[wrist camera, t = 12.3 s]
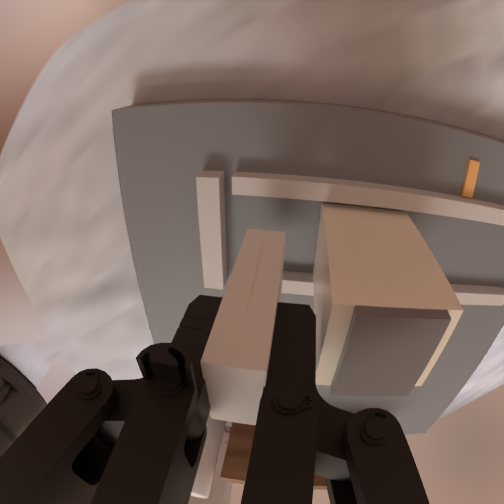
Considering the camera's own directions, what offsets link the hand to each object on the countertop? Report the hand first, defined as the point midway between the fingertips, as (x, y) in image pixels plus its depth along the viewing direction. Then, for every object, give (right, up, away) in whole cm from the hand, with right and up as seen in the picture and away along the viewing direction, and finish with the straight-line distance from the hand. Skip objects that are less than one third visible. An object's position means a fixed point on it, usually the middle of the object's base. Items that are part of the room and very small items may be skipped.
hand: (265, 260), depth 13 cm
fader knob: (+4, +1, +2) cm, 5 cm away
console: (+5, -4, +7) cm, 9 cm away
